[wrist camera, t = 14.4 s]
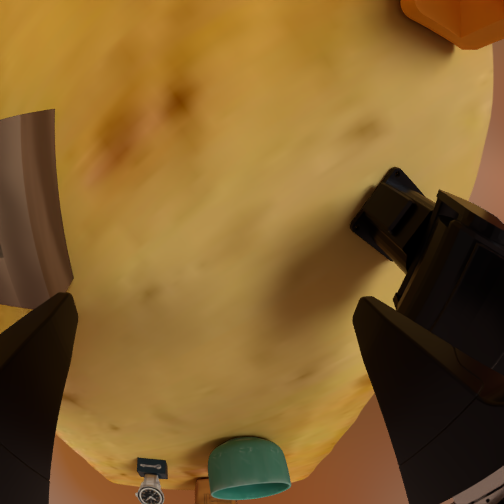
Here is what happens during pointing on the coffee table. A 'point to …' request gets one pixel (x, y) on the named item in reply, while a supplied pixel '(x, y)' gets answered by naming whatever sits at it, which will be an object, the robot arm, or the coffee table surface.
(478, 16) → the bracket
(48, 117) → the hole block
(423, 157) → the coffee table surface
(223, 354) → the coffee table surface
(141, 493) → the watch
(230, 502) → the coffee package
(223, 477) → the mug
